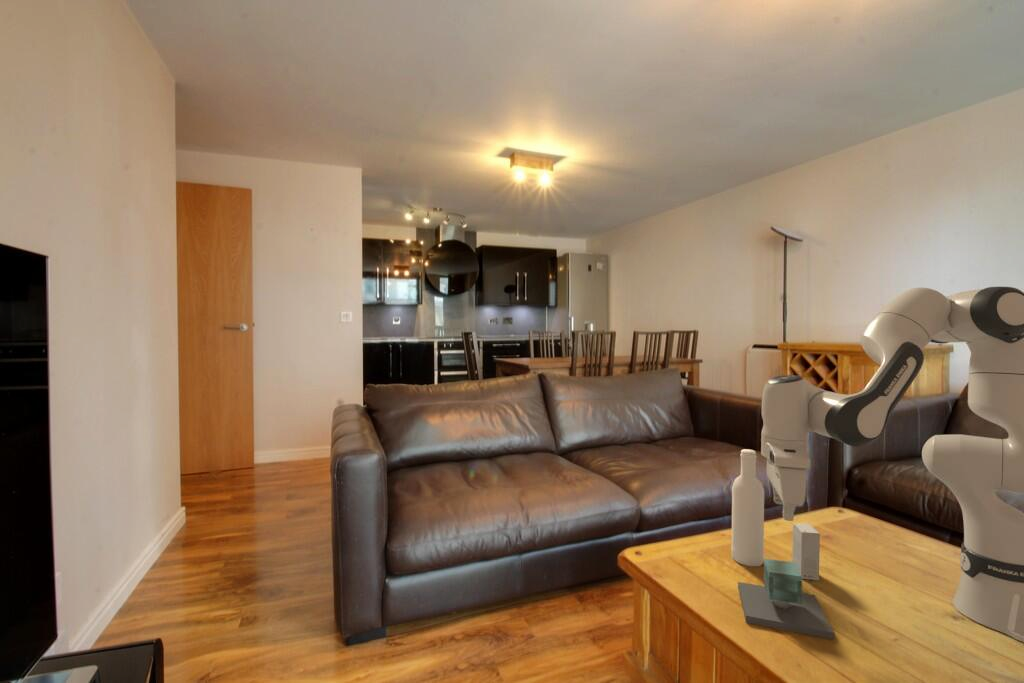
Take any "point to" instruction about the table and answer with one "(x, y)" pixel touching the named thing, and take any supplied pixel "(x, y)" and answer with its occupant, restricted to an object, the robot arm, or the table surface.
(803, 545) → the skincare box
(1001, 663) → the table surface
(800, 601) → the sage green cube
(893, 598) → the table surface
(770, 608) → the post block
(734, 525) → the bottle
